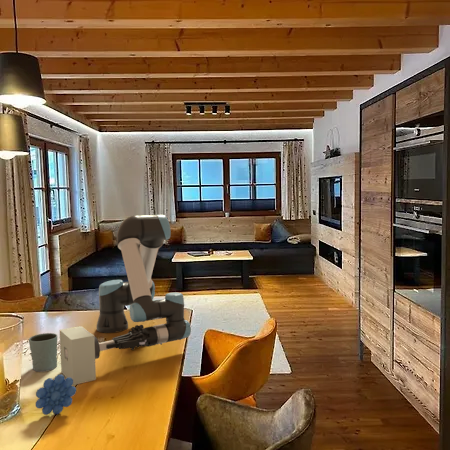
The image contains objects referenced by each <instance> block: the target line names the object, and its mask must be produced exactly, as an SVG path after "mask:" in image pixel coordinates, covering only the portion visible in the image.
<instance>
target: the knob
mask: <svg viewBox="0 0 450 450" xmlns="http://www.w3.org/2000/svg"><path fill="white" fill-rule="evenodd" d="M94 343H95V360H97V359H99V358H100V355H101V351H100V346H99V343H100V342H99V339H98V338H97V336H94ZM65 357H66V358H68V349H65Z"/></svg>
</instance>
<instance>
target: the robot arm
mask: <svg viewBox="0 0 450 450" xmlns="http://www.w3.org/2000/svg"><path fill="white" fill-rule="evenodd" d="M171 233H172V232H171V225H170V220H169V219H168V217H167V215H165V214H142V215H137V214H136V215H130V216H128V217H127V218H125V219H124V220H123V221H122V222H121V223H120V225H119V227H118V230H117V233H116V243H117V244H116V245H117V248H118V249H119V250H120V251H121V255H122V260H123V264H124V268H125V272H126V276H127V280H128V281H124V280H122V279H112V280H108V281H104V282H103V283H100V284H99V287H98V303H99V316H98V319H97V322H96V325H95V326H96V331H97V332H99V333H103V334H104V333H106V334H108V333H109V334H111V333H119V332H123V331H125V330H127V329H128V328H129V322H128V319H127V317H126V314H125V307H126V306H129V311H128V312H129V316H130V319H131V321H132V322H133V323H142V322H143V323H144V322H148V321H153V320H154V321H155V320H159V319H165V322H166V323H160V324H155V325H151V326H146V327H143V331H142V333H139V332H138V333H135V334H133V333H132V332H130V333H128V332H127V333H125V334H122V335H118V336H115V337H112V338H111V339H110V340H107V341H102V342H99V346H100V352H103V351H108V350H112V349H118V350H124V349H130V348H132V347H135V348H137V347H138V348H139V347H147V348H148V347H154V346H156V345H163V344H165V343H169V342H174V341H182V340H183V339H186V338H189V337H190V336H191V333H192V327H191V323H190V322H189V321H188V320H187V319H185V301H184V300H185V299H184V294H183V293H181V292H176V291H175V292H172V291H171V292H169V293H166V294H165V295H164V296H165V297H164V298H163V299H156V300H154V297H155V294H156V292H155V290H156V287H155V282H154V281H153V280H152V275H153V270H154V267H155V263H156V258H157V256H158V253H159V249H160V248H162V246H163V245H164V241H168V240H169V239H170V238H171V235H172V234H171Z"/></svg>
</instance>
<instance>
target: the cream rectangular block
mask: <svg viewBox="0 0 450 450" xmlns="http://www.w3.org/2000/svg"><path fill="white" fill-rule="evenodd" d="M94 337H95V335H94V334H93V333H91V332H90V331H89V330H87V329H86V328H85V327H83V326H82V325H79V326H74V327H67V328H62V329H59V346H60V347H59V348H60V368H61V370H60V371H61V374H62V375H63V376H64V378H65V377H66V378H69V377H70V378H72V379H73V384H72V386H76V385H80V384H83V383H88V382H92V381H96V380H97V374H96V373H97V371H96V368H97V367H96V359H95V343H94ZM65 349H68V358H66V357H65ZM66 378H65V379H66Z"/></svg>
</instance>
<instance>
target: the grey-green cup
mask: <svg viewBox="0 0 450 450" xmlns="http://www.w3.org/2000/svg"><path fill="white" fill-rule="evenodd" d="M28 343H29V348H30V349H29V350H30V352H31V353H30V356H31V360H32V362H31V363H32V369H33V371H34V372H49V371H52V370H54V369H55V368H57V366H58V358H57V356H58V334H56V333H55V332H54V333H53V332H47V333H45V332H44V333H40V334H35V335H32V336H30V337H29V338H28Z"/></svg>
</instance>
